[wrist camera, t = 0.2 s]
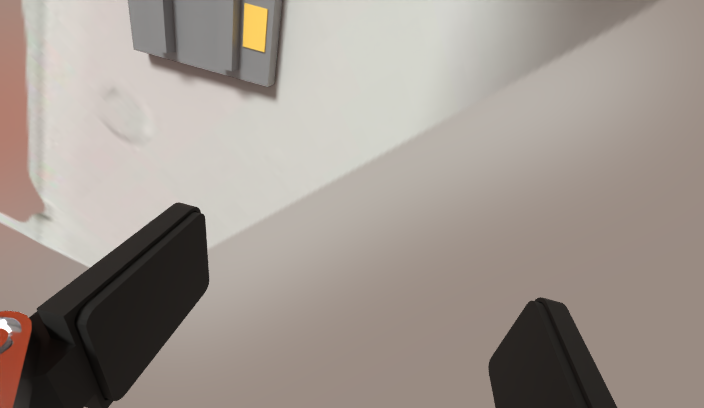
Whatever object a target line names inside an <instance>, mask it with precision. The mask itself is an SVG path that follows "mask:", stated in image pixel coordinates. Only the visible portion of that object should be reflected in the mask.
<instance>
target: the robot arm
mask: <svg viewBox="0 0 704 408" xmlns="http://www.w3.org/2000/svg"><path fill="white" fill-rule="evenodd" d="M208 285H209V270H208V255H207V240H206V224H205V216H204V214H201V212H200V209H199V208H197V207H194V206H190V205H187V204H183V203H175V204H173V205H172V206H171V207H169V208H168V209H167V210H166V211H164V212H163V213H162V214H160V215H159V216H158V217H156V218H155V219H154V220H152V221H151V222H150V223H148V224H147V225H146V226H145V227H143V228H142V229H141V230H139V231H138V232H137V233H135V234H134V235H133V236H131V237H130V238H129V239H127V240H126V241H125V242H123V243H122V244H121V245H120V246H118V247H117V248H116V249H114V250H113V251H112V252H110V253H109V254H108V255H106V256H105V257H104V258H102V259H101V260H100V261H98V262H97V263H96V264H95V265H93V266H92V267H91V268H89V269H88V270H87V271H85V272H84V273H83V274H81V275H80V276H79V277H78V278H76V279H75V280H74V281H72V282H71V283H70V284H68V285H67V286H66V287H64V288H63V289H62V290H60V291H59V292H58V293H56V294H55V295H54V296H52V297H51V298H50V299H49V300H47V301H46V302H45V303H43V304H42V305H41V306H39V307H38V308H37V312H36V313H34V314H33V315H32V316H31V317H29V318H28V316H27V315H25V314H22V313H20V312H16V311H0V408H83V407H88V408H108V407H109V406H110V404H111V403H112V402H113V401H117V400H119V399H121V398H122V397H123V396H124V395H125V394H126V393H127V391H128V390H129V389H130V388H131V386H132V385H133V384H134V382H135V381H136V380H137V378H138V377H139V376H140V375H141V374H142V372H143V371H144V370H145V368H146V367H147V366H148V365H149V363H150V362H151V361H152V359H153V358H154V357H155V356H156V354H157V353H158V352H159V350H160V349H161V348H162V346H163V345H164V344H165V343H166V342H167V340H168V339H169V338H170V336H171V335H172V334H173V333H174V331H175V330H176V329H177V328H178V326H179V325H180V324H181V322H182V321H183V320H184V319H185V317H186V316H187V315H188V313H189V312H190V311H191V310H192V308H193V307H194V306H195V304H196V303H197V302H198V301H199V299H200V298H201V297H202V296H203V294H204V293H205V291H206V290H207V287H208ZM489 376H490V381H491V386H492V391H493V396H494V402H495V407H496V408H617V406H616V404H615V402H614V400H613V398H612V396H611V394H610V392H609V390H608V388H607V386H606V384H605V382H604V380H603V378H602V376H601V374H600V372H599V370H598V368H597V366H596V364H595V362H594V360H593V358H592V356H591V354H590V352H589V351H588V348H587V347H586V345H585V343H584V341H583V339H582V337H581V335H580V333H579V331H578V329H577V327H576V325H575V323H574V321H573V319H572V317H571V315H570V313H569V311H568V309H567V307H566V306H565V305H564V304H563V303H560V302H556V301H553V300H549V299H545V298H537V299H536V300H535V301H530V302H528V304H527V305H526V306H525V308H524V310H523V311H522V312H521V314H520V315H519V317H518V318H517V320H516V321H515V323H514V324H513V326H512V327H511V329H510V330H509V332H508V333H507V335H506V336H505V338H504V339H503V341H502V342H501V344H500V345H499V347H498V348H497V350H496V351H495V353H494V354H493V356H492V357H491V359H490V362H489Z"/></svg>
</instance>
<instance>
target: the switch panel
mask: <svg viewBox="0 0 704 408" xmlns="http://www.w3.org/2000/svg"><path fill="white" fill-rule="evenodd" d="M128 5H129V14H130V22H131V30H132V39H133V47H134V50H137V51H141V52H144V53H148V54H151V55H155V56H159V57H162V58H166V59H169V60H173V61H176V62H180V63H184V64H187V65H191V66H194V67H198V68H202V69H205V70H209V71H212V72H216V73H219V74H223V75H227V76H230V77H234V78H237V79H241V80H244V81H248V82H252V83H255V84H259V85H262V86H266V87H269V86H271V85H273V84H274V83H275V72H276V62H277V51H278V40H279V30H280V19H281V8H282V0H128Z"/></svg>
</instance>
